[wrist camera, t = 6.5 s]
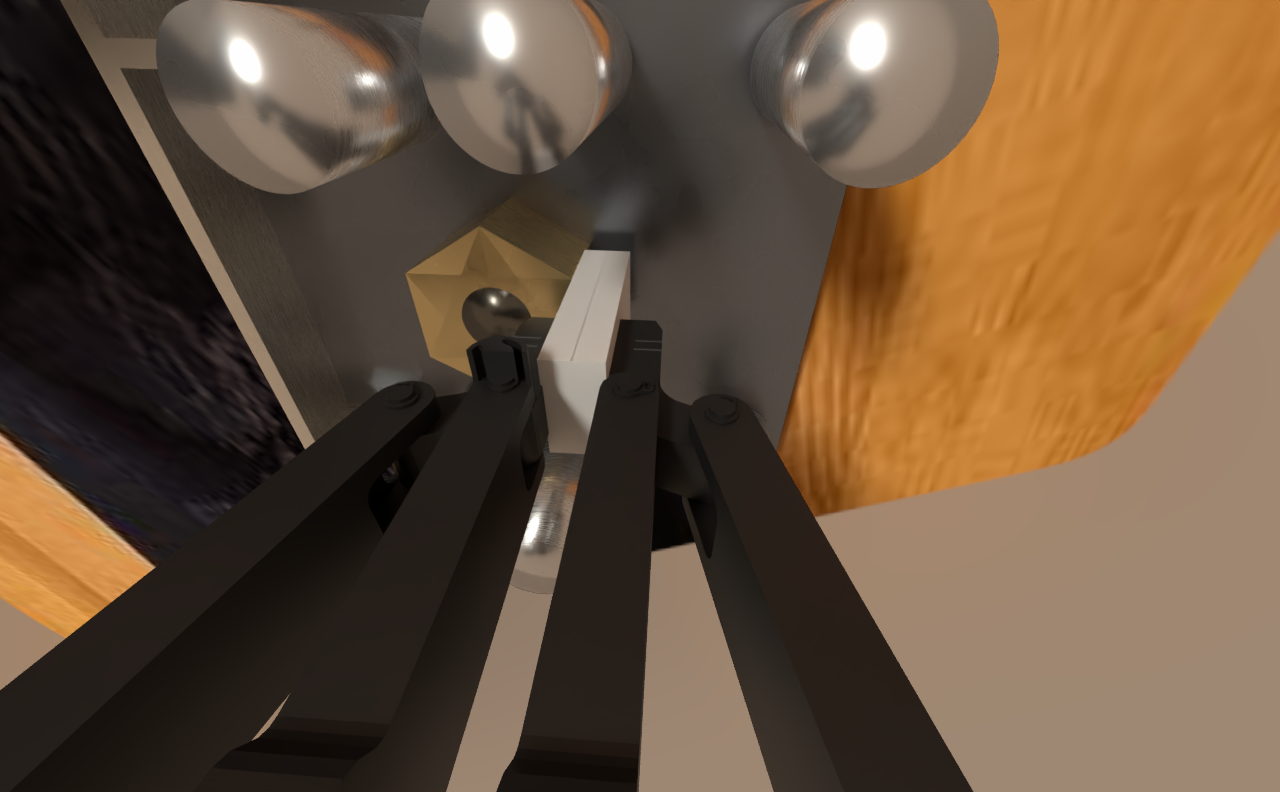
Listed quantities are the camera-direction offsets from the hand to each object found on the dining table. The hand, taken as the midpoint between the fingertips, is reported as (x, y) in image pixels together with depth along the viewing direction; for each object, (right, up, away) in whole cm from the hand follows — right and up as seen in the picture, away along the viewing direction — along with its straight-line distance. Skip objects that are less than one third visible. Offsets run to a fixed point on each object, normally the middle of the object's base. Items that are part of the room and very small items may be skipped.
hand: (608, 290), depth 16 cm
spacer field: (-3, +1, +2) cm, 3 cm away
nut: (-3, +1, +1) cm, 3 cm away
